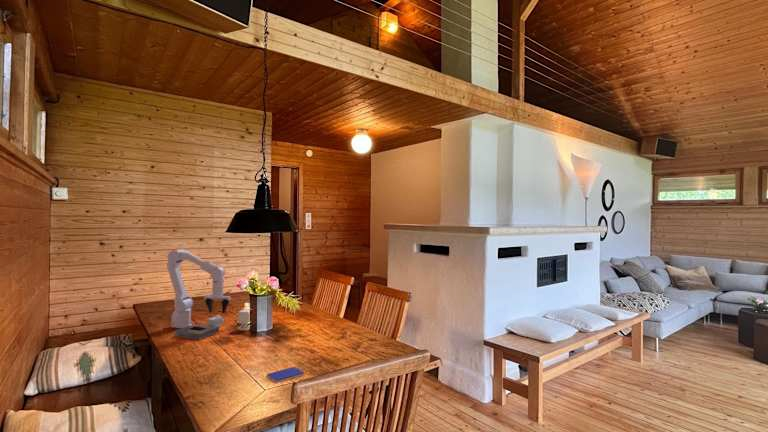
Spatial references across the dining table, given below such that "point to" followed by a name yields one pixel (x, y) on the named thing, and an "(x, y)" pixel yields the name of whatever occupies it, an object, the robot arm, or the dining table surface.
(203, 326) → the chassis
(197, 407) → the dining table surface
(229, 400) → the dining table surface
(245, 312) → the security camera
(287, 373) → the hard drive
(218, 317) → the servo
